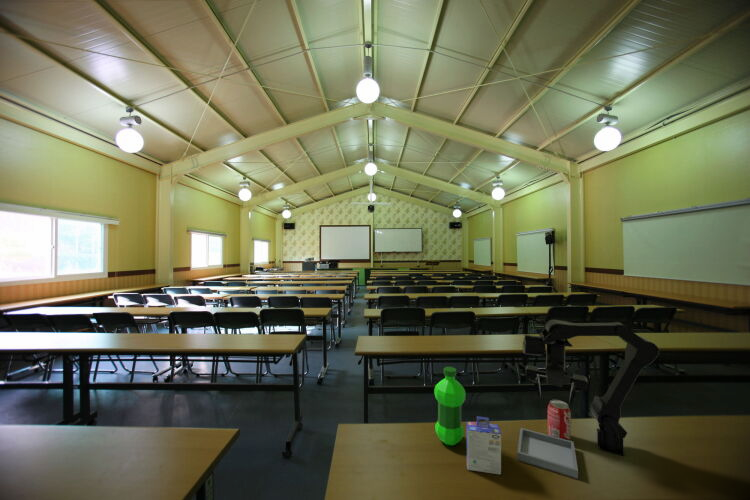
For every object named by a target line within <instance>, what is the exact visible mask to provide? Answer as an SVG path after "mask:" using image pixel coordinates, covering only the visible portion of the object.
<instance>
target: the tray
mask: <svg viewBox="0 0 750 500" xmlns="http://www.w3.org/2000/svg"><path fill="white" fill-rule="evenodd" d="M516 455H517V462H521V463H525V464H527V465H531V466H535V467H537V468H541V469H544V470H547V471H550V472H553V473H556V472H557V474H559V473H560V474H559V475H562V474H563V476H566V477H569V478H573V479H576V480H579V469H578V468H579V466H578V462H577V461H578V460H577V456H576V455H577V454H576V449H575V443H574V441H572V440H565V439H561V438H557V437H554V436H550V435H549V434H546V433H542V432H538V431H535V430H530V429H527V428H523V427H520V429H519V438H518V445H517V454H516Z"/></svg>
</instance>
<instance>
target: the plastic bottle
mask: <svg viewBox="0 0 750 500" xmlns="http://www.w3.org/2000/svg"><path fill="white" fill-rule="evenodd" d="M443 375H444V377H445V378H443V379H441V380H440V381H439V382H438V383H437V384H435V386H434V391H433V392H434V393H433V394H434V396H435V397H434V398H435V399H436V400H437V421H436V422H435V426H434V430H435V433H436V435H437V438H438V439H439V441H441V442H442V443H443V444H445V445H447V446H455V445H457V444H459V443H460V442H461V441H462V440H463V437H464V435H465V428H464V425H463V424H462V421H463V420H462V413H463V412H462V408H463V406H462V405H463V404H464V402H465V400H466V396H467V395H466V394H467V393H466V390H465V388H464V387H463V386H462V384H461V383H460V382H459V381H458V380H457V379H455V378H456V376H457V369H456V368H455V367H453V366H445V367H444V368H443ZM460 422H461V423H460Z"/></svg>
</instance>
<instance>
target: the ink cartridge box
mask: <svg viewBox="0 0 750 500" xmlns="http://www.w3.org/2000/svg"><path fill="white" fill-rule="evenodd" d="M481 420H483V421H486V422H482V421H481ZM466 469H467V470H469V471H474V472H480V473H488V474H494V475H495V474H496V475H501V474H502V432H501V429H500V426H499V424H495V423H490V418H489V417H488V416H487V417H485V416H479V415H478V416H476V422H475V421H466Z"/></svg>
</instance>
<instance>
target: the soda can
mask: <svg viewBox="0 0 750 500" xmlns="http://www.w3.org/2000/svg"><path fill="white" fill-rule="evenodd" d="M571 414H572V412H571V410H570V405H569V403H566V402H565V401H563V400H560V399H551V400H550V401H549V403H548V405H547V420H548V421H547V422H546V423H547V424H546V425H547V426H546V427H547V435H550V436H554V437H557V438H561V439H565V440H569V441H571V440H570V439H571V431H572V430H571V428H572V419H571V418H572V416H571Z"/></svg>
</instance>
